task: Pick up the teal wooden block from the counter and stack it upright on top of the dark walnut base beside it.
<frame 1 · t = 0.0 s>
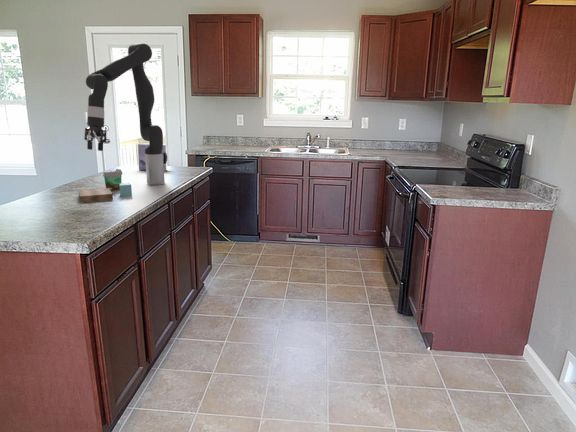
hand: (95, 150, 207), 22 cm above the countertop, tool pointing down, fingers open, 8 cm apart
teal block: (126, 195, 211), on the countertop
cake pan box: (153, 170, 288), on the countertop
food container: (116, 189, 225), on the countertop
walnut base: (95, 198, 204), on the countertop
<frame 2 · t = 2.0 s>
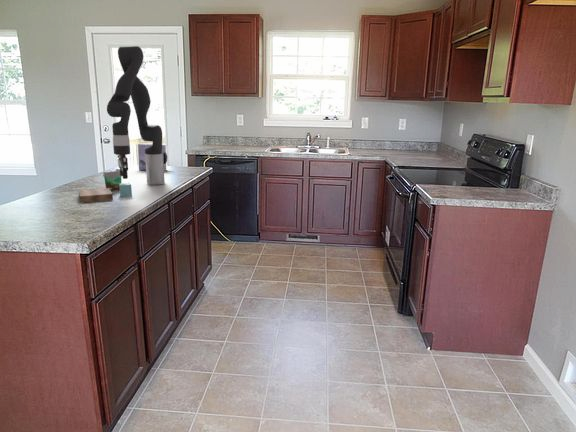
hand: (124, 177, 208), 9 cm above the countertop, tool pointing down, fingers open, 8 cm apart
nothing on the countertop moved.
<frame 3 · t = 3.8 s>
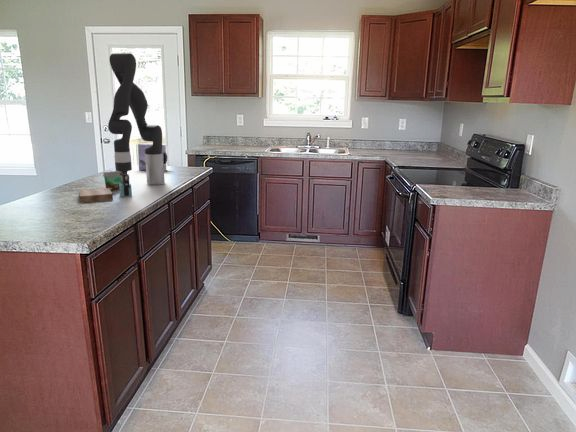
hand: (125, 194, 211), 1 cm above the countertop, tool pointing down, fingers closed on teal block, 5 cm apart
teal block: (126, 195, 211), on the countertop, touching gripper
everything else where it was.
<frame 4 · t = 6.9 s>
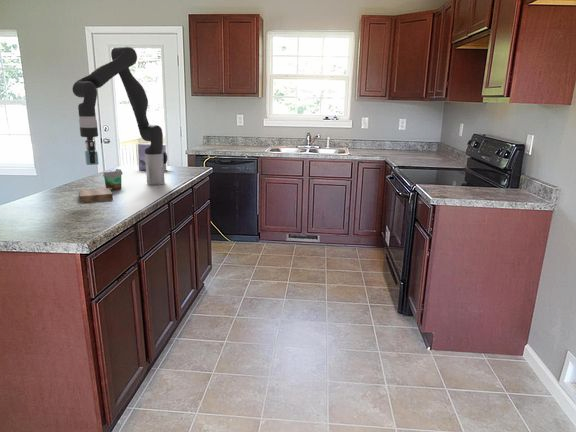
hand: (92, 162, 200), 17 cm above the countertop, tool pointing down, fingers closed on teal block, 5 cm apart
teal block: (92, 163, 200), point 17 cm above the countertop, touching gripper
everything else where it was.
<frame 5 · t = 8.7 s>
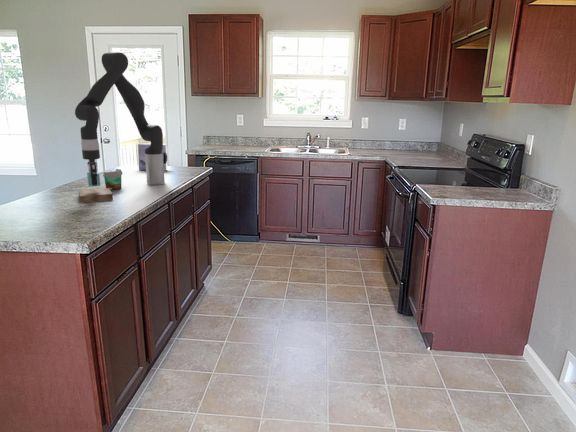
hand: (94, 183, 203), 7 cm above the countertop, tool pointing down, fingers closed on teal block, 5 cm apart
teal block: (94, 185, 203), point 6 cm above the countertop, touching gripper
everything else where it was.
when the fingers open (5 cm above the countertop, at t = 10.0 s): teal block drops 1 cm, resting on walnut base.
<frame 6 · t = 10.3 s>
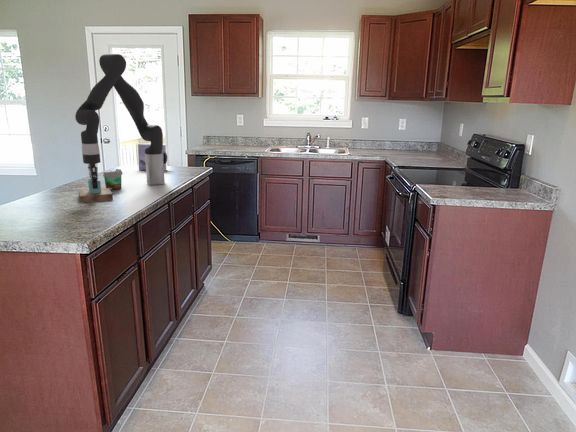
hand: (94, 187, 203), 6 cm above the countertop, tool pointing down, fingers open, 7 cm apart
teal block: (95, 192, 204), point 3 cm above the countertop, touching walnut base
everything else where it was.
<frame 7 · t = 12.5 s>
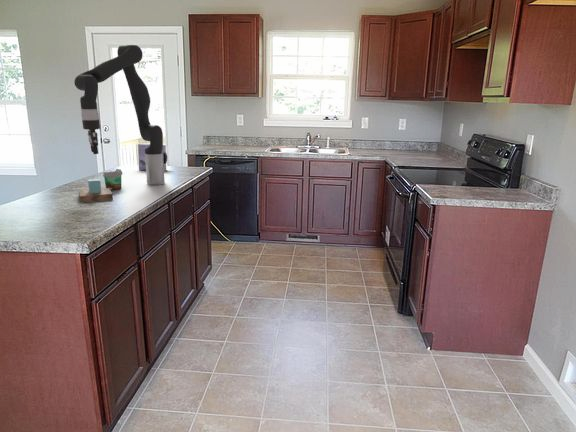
hand: (94, 152, 205), 21 cm above the countertop, tool pointing down, fingers open, 8 cm apart
nothing on the countertop moved.
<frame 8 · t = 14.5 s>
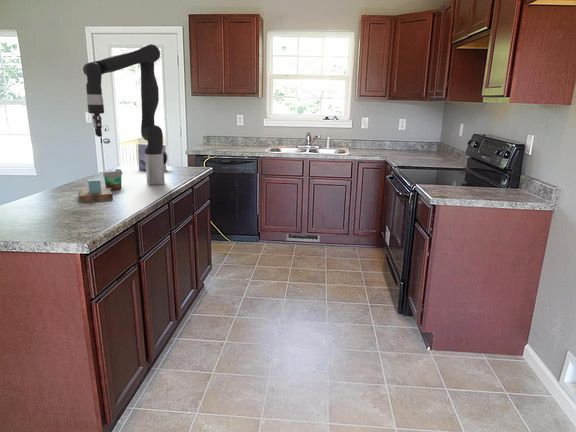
hand: (98, 136, 218), 28 cm above the countertop, tool pointing down, fingers open, 8 cm apart
nothing on the countertop moved.
at the end: teal block inside the target area on the walnut base (0.1 cm from its centre), point 3.0 cm above the walnut base's base; teal block tilted 0°; the gripper is holding nothing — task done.
